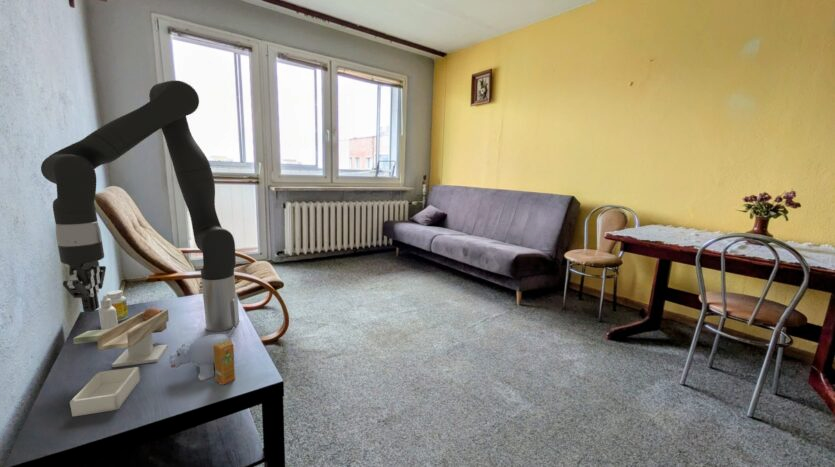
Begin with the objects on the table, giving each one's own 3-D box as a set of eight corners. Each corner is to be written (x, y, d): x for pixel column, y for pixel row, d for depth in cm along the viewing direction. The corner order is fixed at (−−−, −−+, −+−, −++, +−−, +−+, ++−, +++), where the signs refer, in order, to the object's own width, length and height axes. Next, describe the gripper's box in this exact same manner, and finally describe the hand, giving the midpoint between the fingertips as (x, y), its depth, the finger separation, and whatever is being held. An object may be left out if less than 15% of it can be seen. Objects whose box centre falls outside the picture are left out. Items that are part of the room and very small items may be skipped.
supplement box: (223, 386, 84) (219, 348, 82) (215, 381, 86) (212, 344, 84) (236, 379, 87) (233, 342, 85) (228, 374, 88) (225, 338, 87)
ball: (162, 318, 105) (162, 305, 105) (157, 321, 101) (156, 308, 101) (147, 319, 104) (146, 306, 104) (141, 323, 100) (140, 309, 100)
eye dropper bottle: (120, 326, 112) (115, 291, 109) (118, 333, 107) (113, 297, 105) (102, 329, 109) (96, 294, 107) (100, 337, 105) (93, 300, 103)
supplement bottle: (108, 318, 117) (104, 291, 115) (128, 314, 121) (124, 288, 119) (107, 323, 113) (103, 296, 111) (128, 319, 117) (124, 292, 115)
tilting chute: (168, 327, 106) (168, 309, 106) (132, 354, 83) (131, 332, 83) (119, 332, 102) (118, 313, 102) (66, 362, 79) (64, 339, 79)
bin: (140, 379, 86) (138, 366, 85) (118, 409, 75) (116, 395, 75) (100, 385, 83) (98, 372, 82) (72, 416, 73) (69, 401, 72)
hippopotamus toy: (170, 368, 91) (166, 335, 89) (233, 351, 100) (231, 320, 98) (173, 389, 82) (168, 353, 80) (242, 368, 91) (239, 335, 90)
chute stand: (168, 346, 101) (165, 326, 99) (157, 361, 93) (154, 339, 92) (126, 351, 98) (123, 330, 96) (112, 367, 90) (108, 344, 89)
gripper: (83, 247, 76) (95, 320, 79) (114, 235, 89) (123, 298, 92) (39, 248, 74) (53, 324, 77) (77, 236, 86) (88, 301, 90)
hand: (91, 310), depth 85 cm, fingers closed
